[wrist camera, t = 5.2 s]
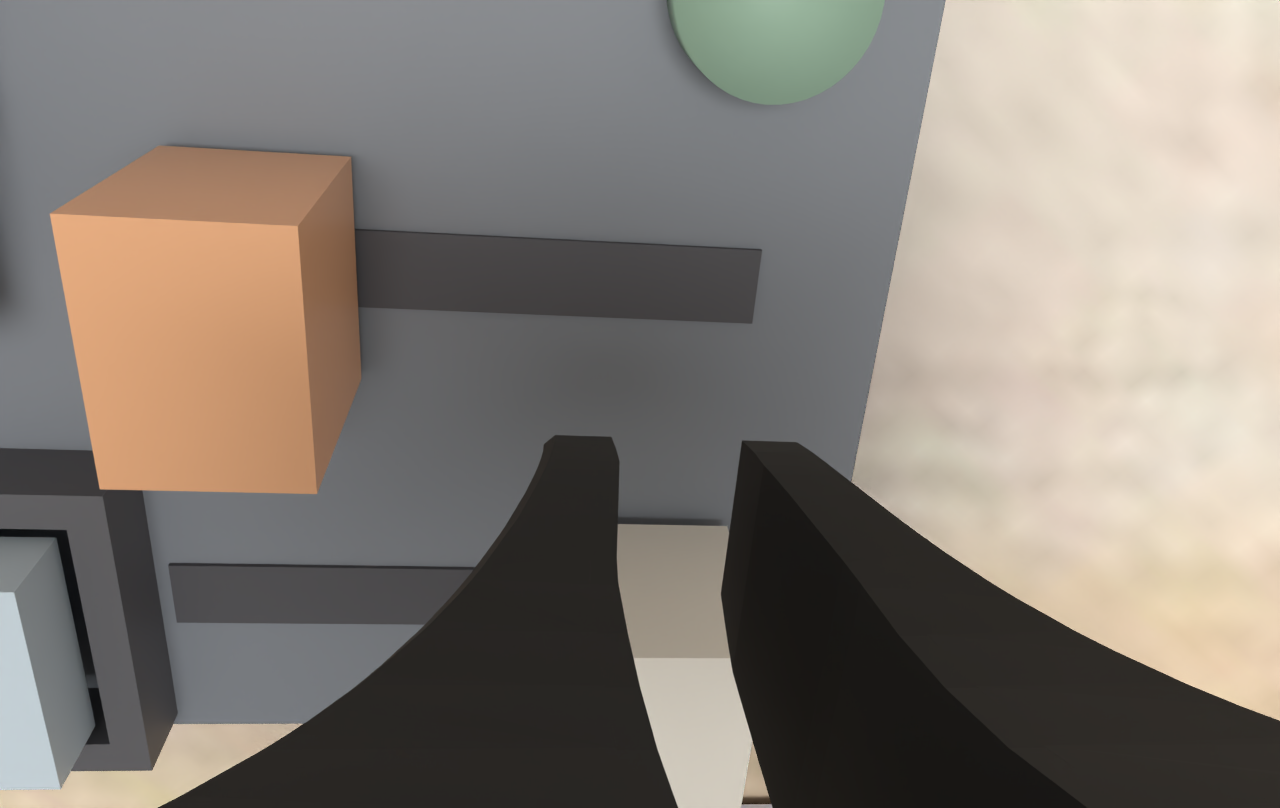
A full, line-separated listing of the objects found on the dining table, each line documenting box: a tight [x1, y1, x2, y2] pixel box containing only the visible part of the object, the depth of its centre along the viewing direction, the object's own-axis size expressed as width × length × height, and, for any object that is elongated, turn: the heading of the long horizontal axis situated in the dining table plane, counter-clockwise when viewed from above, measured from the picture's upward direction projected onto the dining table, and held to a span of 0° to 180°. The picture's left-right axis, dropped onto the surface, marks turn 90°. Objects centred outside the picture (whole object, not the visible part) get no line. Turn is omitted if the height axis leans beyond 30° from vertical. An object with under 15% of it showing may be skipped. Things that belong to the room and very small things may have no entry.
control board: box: [0, 0, 945, 771], centre depth 18 cm, size 18×20×3 cm
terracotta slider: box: [50, 146, 361, 494], centre depth 15 cm, size 4×3×4 cm
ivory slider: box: [617, 524, 752, 808], centre depth 19 cm, size 4×3×4 cm
